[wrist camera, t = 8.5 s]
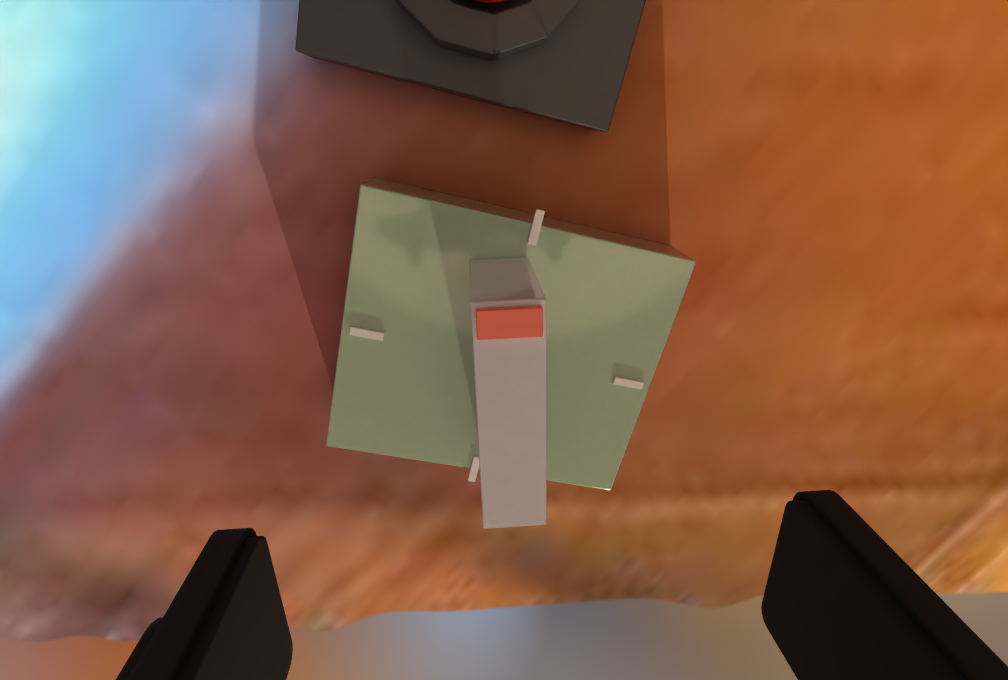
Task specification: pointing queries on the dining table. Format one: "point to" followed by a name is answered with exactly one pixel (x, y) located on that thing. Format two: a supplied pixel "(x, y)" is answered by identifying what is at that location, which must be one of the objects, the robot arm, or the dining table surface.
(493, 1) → the tap button
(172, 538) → the dining table surface
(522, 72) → the button block
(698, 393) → the dining table surface
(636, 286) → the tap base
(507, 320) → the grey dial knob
